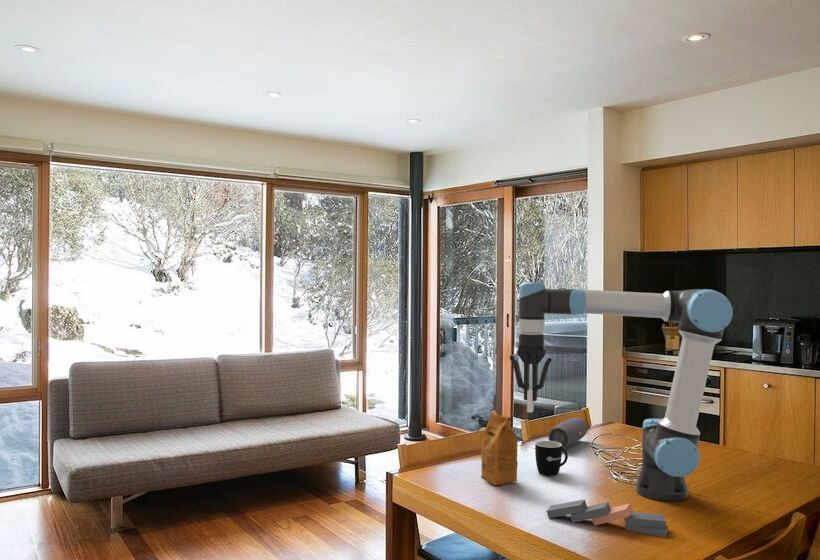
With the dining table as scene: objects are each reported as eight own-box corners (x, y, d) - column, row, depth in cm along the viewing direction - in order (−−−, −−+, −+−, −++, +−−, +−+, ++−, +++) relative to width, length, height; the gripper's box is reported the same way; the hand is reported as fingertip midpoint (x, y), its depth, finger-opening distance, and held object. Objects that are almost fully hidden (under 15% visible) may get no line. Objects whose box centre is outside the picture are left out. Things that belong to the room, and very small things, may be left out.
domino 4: (623, 518, 176) (662, 521, 173) (625, 525, 171) (665, 528, 169) (623, 511, 176) (662, 514, 173) (625, 517, 171) (665, 521, 169)
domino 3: (599, 519, 178) (633, 510, 173) (594, 525, 174) (628, 516, 169) (596, 512, 178) (630, 503, 174) (591, 518, 174) (625, 509, 169)
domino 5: (628, 525, 176) (667, 532, 171) (625, 532, 171) (665, 539, 167) (628, 518, 176) (667, 525, 171) (625, 524, 171) (665, 531, 167)
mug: (543, 478, 214) (544, 448, 214) (529, 470, 222) (530, 441, 222) (574, 475, 218) (575, 445, 218) (559, 467, 227) (560, 439, 226)
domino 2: (576, 517, 180) (611, 508, 176) (572, 522, 175) (607, 514, 171) (574, 509, 180) (608, 501, 176) (569, 515, 176) (604, 507, 172)
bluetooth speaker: (570, 454, 244) (570, 428, 244) (546, 450, 249) (547, 424, 249) (589, 441, 263) (589, 417, 263) (566, 438, 269) (567, 414, 268)
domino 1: (553, 512, 183) (587, 506, 179) (548, 518, 179) (583, 512, 174) (551, 505, 184) (584, 499, 179) (546, 511, 179) (580, 504, 175)
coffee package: (503, 473, 219) (504, 408, 219) (520, 484, 208) (521, 416, 207) (476, 475, 216) (477, 410, 216) (492, 487, 204) (493, 418, 204)
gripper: (555, 333, 195) (554, 411, 195) (512, 331, 200) (511, 407, 200) (551, 335, 188) (550, 416, 188) (507, 333, 193) (506, 411, 193)
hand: (530, 411), depth 194 cm, fingers closed
